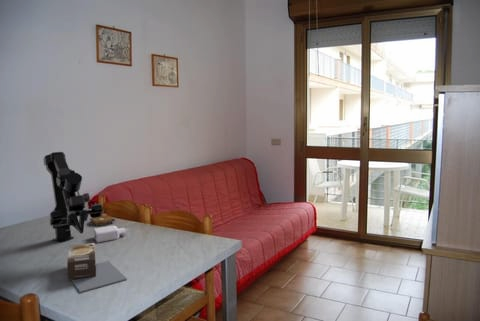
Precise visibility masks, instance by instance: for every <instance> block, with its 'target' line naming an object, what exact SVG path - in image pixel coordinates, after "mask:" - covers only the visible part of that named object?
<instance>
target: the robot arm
mask: <svg viewBox="0 0 480 321" xmlns="http://www.w3.org/2000/svg"><path fill="white" fill-rule="evenodd" d="M43 166H45V168H46V171H47V172H48V173H49V174H50V177H51V178H50V179H51V183H52V191H53V197H54V198H53V199H54V205H55V207H54V208H53V210H51V211H50V213H49V221H48V222H49V224H50V226H51V228H52V229H53V230H54V231H55V232H54V233H55V238H53V239H52V241H56V242H59V243H63V242H65V241H69V240H72V239H74V238H75V237H74V236H72V233H71V227H73V228H74V229H75V230H76V231H77V232H78V233H79V234H84V230H85V229H84V227H85V222H87V221H88V217H89V216H90V218H97V217H101V215H102V214H103V213H104V212H103V211H104V208H103V205H102V204H100V203H97V204H91V205H90V208H88V209H85V208H86V205H85V204H86V203H89V202H90V201H91V198H90V195H89V194H90V193H89V192H86V193H83V194H81V195H80V192H79V191H80V190H81V185H82V181H83V176H82V175H81V174H80V173H78V172H75V170H72V169H71V168H70V167H69V165H68V162H67V159H66V154H65V153H64V151H56V152H55V151H53V152H51V153H50V154H46V155H45V156H44V157H43ZM78 217H79V218H78Z"/></svg>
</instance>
